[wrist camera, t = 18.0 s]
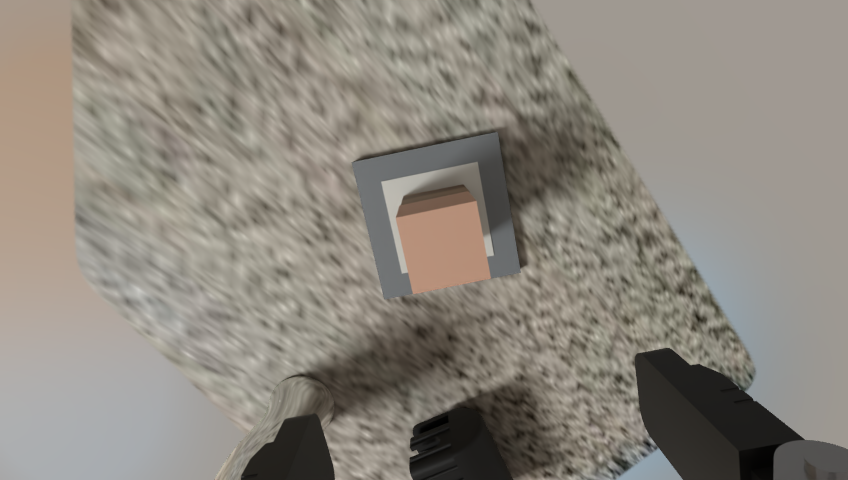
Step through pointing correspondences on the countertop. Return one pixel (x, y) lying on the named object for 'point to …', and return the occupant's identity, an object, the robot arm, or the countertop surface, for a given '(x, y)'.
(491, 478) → the end cap
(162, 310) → the countertop surface
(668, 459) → the robot arm
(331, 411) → the beer glass
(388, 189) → the plate
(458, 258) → the terracotta block
